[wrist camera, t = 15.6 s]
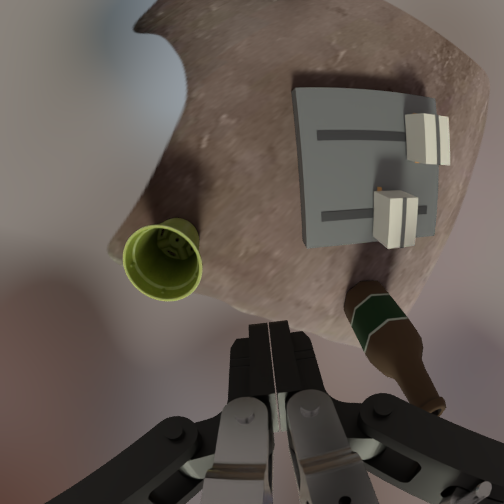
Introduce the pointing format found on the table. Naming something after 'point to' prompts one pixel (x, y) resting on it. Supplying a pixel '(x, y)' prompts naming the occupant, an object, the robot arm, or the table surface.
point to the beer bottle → (391, 343)
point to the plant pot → (164, 260)
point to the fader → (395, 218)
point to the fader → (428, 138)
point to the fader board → (357, 161)
